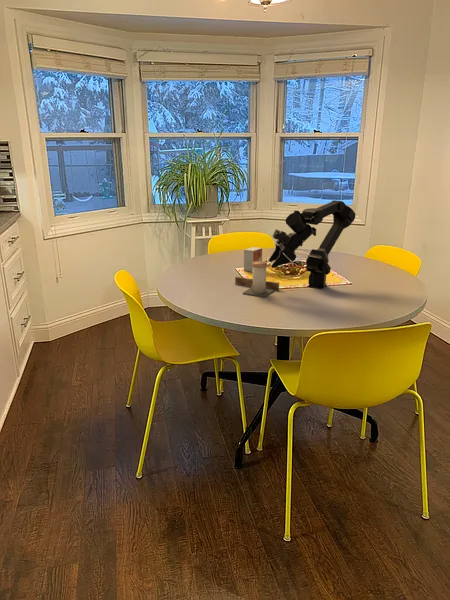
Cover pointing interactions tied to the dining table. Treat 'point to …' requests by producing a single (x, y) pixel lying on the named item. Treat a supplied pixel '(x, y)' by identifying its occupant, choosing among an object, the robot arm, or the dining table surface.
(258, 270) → the canister
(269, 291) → the mat
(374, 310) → the dining table surface
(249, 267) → the small box
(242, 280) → the wall
